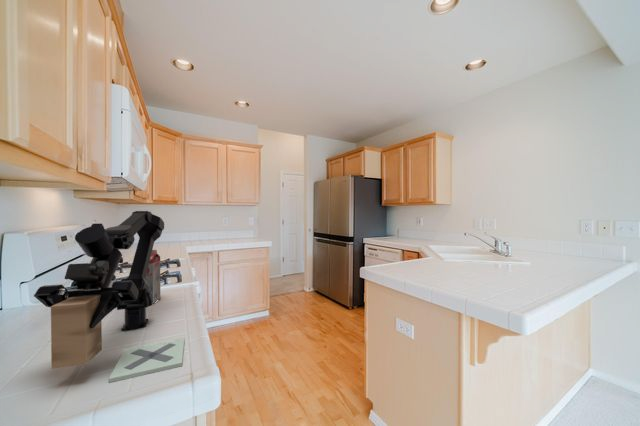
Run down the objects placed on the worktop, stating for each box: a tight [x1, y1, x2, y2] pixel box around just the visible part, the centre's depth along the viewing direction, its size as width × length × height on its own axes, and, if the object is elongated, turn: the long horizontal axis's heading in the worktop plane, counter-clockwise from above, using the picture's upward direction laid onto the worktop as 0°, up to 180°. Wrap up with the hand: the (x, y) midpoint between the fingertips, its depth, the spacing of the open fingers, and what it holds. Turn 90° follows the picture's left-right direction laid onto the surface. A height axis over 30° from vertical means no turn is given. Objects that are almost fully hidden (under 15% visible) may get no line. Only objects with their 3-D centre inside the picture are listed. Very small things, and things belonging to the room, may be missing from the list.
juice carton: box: [146, 249, 161, 304], centre depth 108 cm, size 7×7×22 cm
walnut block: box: [50, 295, 103, 369], centre depth 58 cm, size 6×6×13 cm
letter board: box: [108, 337, 185, 383], centre depth 65 cm, size 14×14×1 cm
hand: (73, 329), depth 56 cm, fingers closed on walnut block, 6 cm apart
